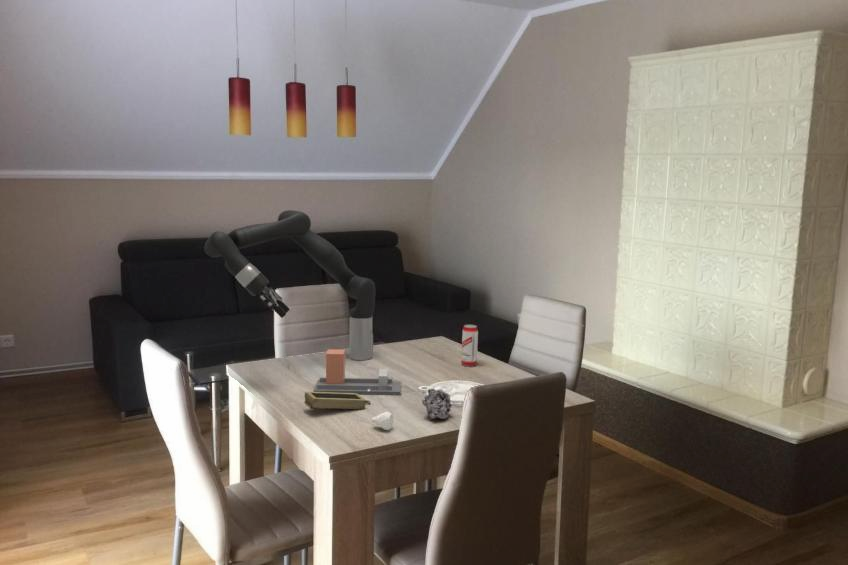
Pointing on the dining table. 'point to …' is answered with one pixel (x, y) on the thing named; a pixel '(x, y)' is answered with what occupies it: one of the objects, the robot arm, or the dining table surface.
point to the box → (334, 400)
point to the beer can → (469, 345)
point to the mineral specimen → (437, 404)
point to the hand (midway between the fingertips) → (286, 313)
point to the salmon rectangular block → (335, 366)
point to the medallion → (451, 390)
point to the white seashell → (384, 420)
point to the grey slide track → (362, 385)
